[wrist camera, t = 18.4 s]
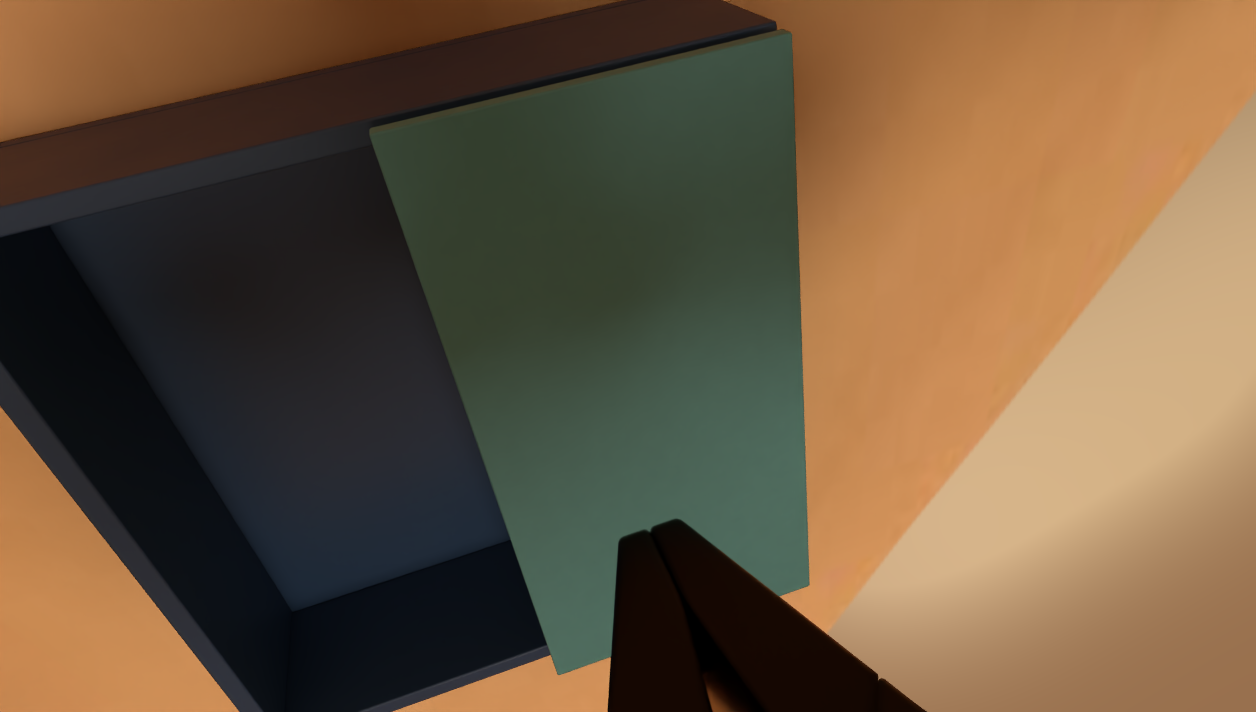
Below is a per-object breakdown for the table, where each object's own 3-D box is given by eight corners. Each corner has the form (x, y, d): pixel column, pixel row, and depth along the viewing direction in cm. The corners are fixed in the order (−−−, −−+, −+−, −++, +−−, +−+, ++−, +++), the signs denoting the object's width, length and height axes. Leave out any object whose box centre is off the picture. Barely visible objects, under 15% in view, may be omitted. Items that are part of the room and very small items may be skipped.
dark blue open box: (687, -15, 19) (777, 20, 15) (735, 465, 28) (800, 566, 24) (-17, 146, 17) (-133, 239, 13) (284, 614, 26) (272, 755, 22)
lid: (783, 28, 15) (792, 31, 15) (804, 575, 24) (810, 585, 24) (368, 127, 14) (368, 134, 13) (555, 664, 23) (558, 676, 22)
